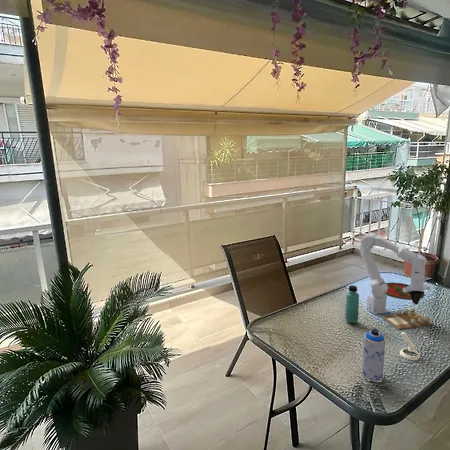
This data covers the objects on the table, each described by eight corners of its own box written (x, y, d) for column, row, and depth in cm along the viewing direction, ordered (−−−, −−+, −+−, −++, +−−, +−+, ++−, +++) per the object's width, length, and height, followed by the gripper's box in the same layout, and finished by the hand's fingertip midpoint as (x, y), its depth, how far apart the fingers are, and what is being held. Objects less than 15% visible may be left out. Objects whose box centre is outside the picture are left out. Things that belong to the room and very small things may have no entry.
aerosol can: (369, 367, 126) (372, 322, 122) (387, 378, 119) (391, 331, 115) (356, 373, 122) (359, 328, 118) (374, 385, 115) (377, 337, 111)
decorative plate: (409, 282, 207) (432, 298, 183) (409, 283, 208) (432, 299, 183) (372, 282, 209) (390, 298, 184) (372, 284, 209) (390, 300, 184)
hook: (388, 335, 139) (403, 328, 137) (404, 359, 136) (419, 353, 134) (390, 340, 132) (405, 333, 130) (407, 366, 129) (423, 360, 127)
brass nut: (420, 320, 158) (420, 316, 158) (412, 321, 158) (413, 317, 157) (412, 315, 163) (412, 311, 163) (405, 317, 162) (405, 312, 162)
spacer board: (398, 329, 152) (399, 323, 151) (381, 317, 164) (381, 311, 164) (433, 324, 156) (433, 318, 155) (413, 313, 168) (414, 307, 167)
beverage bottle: (350, 326, 157) (351, 289, 153) (342, 320, 163) (343, 285, 159) (360, 324, 159) (363, 288, 155) (352, 318, 165) (354, 283, 161)
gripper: (411, 283, 151) (408, 308, 154) (436, 280, 153) (433, 305, 156) (400, 278, 158) (398, 302, 160) (424, 275, 160) (422, 299, 163)
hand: (415, 303), depth 159 cm, fingers closed
